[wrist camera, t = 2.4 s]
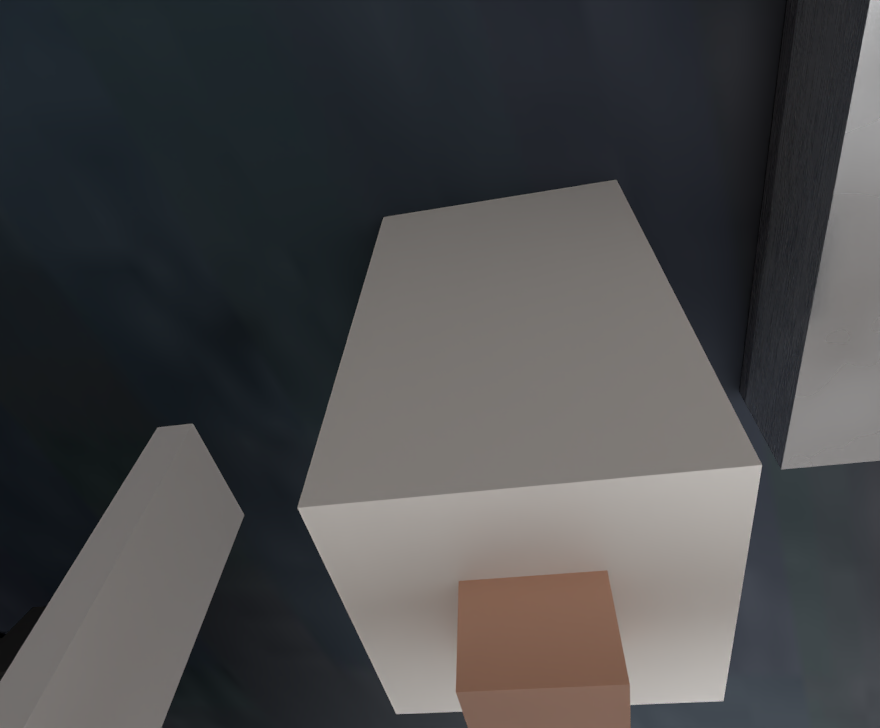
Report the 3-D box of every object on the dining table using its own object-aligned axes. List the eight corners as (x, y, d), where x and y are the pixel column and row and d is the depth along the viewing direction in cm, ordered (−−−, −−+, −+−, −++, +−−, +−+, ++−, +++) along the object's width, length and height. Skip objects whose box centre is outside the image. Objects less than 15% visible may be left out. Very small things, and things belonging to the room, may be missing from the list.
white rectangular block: (428, 392, 18) (386, 814, 10) (383, 217, 15) (264, 618, 7) (620, 369, 17) (756, 808, 9) (616, 179, 14) (821, 581, 6)
